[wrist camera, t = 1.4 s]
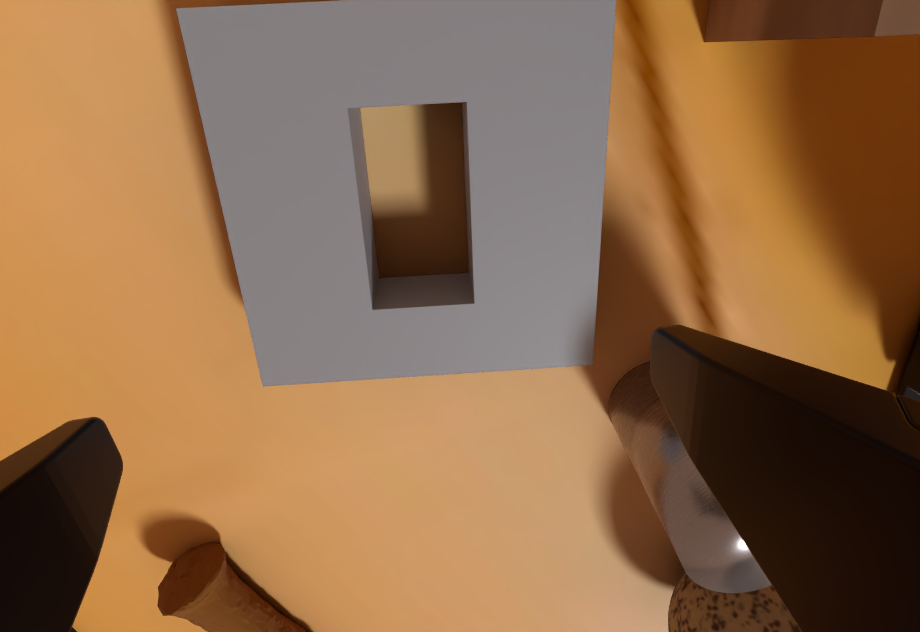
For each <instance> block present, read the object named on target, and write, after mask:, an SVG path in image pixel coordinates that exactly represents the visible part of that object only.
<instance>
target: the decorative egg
mask: <svg viewBox="0 0 920 632" xmlns="http://www.w3.org/2000/svg"><path fill="white" fill-rule="evenodd" d="M668 627H669V632H802V631H801V630H800V628H799V627H798V625H797V623H796V622H795V620H794V619H793V617H792V616H791V614H790V613H789V611H788V610H787V608H786V606H785V605H784V603H783V602H782V600H781V599H780V597H779V596H778V594H777V592H776V591H775V589H774V588H773V586H772V585H771V586H768V587H766V588H762V589H759V590H755V591H750V592H743V593H722V592H716V591H712V590H709V589H706V588H704V587H701V586H700V585H698V584H696V583H695V582H694V581H693V580H691V579H690V578H689V576H688V575H687V574H686V573H685V574H684V575H683V576H682V577H681V579H680V580H679V582H678V583H677V585H676V587H675V589H674V591H673V594H672V597H671V601H670V605H669V612H668Z"/></svg>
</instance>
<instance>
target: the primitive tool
mask: <svg viewBox="0 0 920 632" xmlns="http://www.w3.org/2000/svg"><path fill="white" fill-rule="evenodd" d="M158 591H159V598H158V608H159V609H160V611H161V613H162V614H163V616H168V615H171V616H176V617H179V618H184V619H187V620H189V621H190V622H192V623H193V624H194V625H197V626H201V627H202V628H203V629H204V630H206V631H208V632H307V631H305V629H304V628H302V627H300V626H299V625H297V624H296V623H295V622H294V621H292V620H291V619H289V618H288V617H286V616H284V615H282V614H280V613H279V612H278V611H277V610H276V609H274V608H273V607H272V606H271V605H270V604H268V603H267V602H266V601H264V600H263V599H262V598H261V597H260V596H259V595H257V594H256V593H255V592H254V591H253V590H252V589H251V588H250V587H249V586H248V585H246V584H245V583H244V582H243V581H241V580H240V579H239V578H238V577H237V575H236V573H234V572H233V570H232V569H231V567H230V566H229V565H228V564H227V563H226V553H225V552H224V548H223V547H222V546H221V545H220V544H219V543H207V544H203V545H200V547H197V548H192V549H190V550H188V551H187V552H186V553H185V554H183V555H182V556H180V557H179V558H177V559H176V560H175V561H174V562H173V563H172V565H171V566H170V568H169V570H168V573H167V574H166V575H165V577H164V579H163V580H162V582H161V583H160V585H159V586H158Z"/></svg>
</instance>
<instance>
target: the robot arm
mask: <svg viewBox="0 0 920 632" xmlns="http://www.w3.org/2000/svg"><path fill="white" fill-rule="evenodd" d="M650 375H651V380H652V383H653V385H654V387H655V389H656V391H657V393H658V395H659V397H660V399H661V402H662V404H663V406H664V408H665V410H666V412H667V414H668V416H669V418H670V420H671V422H672V424H673V426H674V428H675V430H676V432H677V434H678V436H679V438H680V440H681V442H682V444H683V446H684V448H685V450H686V452H687V454H688V456H689V457H690V459H691V460H692V462H693V464H694V465H695V467H696V469H697V470H698V472H699V473H700V475H701V476H702V478H703V479H704V481H705V483H706V484H707V486H708V487H709V489H710V490H711V492H712V493H713V495H714V496H715V498H716V500H717V501H718V503H719V504H720V506H721V507H722V509H723V510H724V512H725V514H726V515H727V517H728V518H729V520H730V521H731V523H732V524H733V526H734V527H735V529H736V531H737V532H738V534H739V535H740V537H741V538H742V540H743V541H744V543H745V544H746V546H747V548H748V549H749V551H750V552H751V554H752V555H753V557H754V558H755V560H756V562H757V563H758V565H759V566H760V568H761V569H762V571H763V572H764V574H765V575H766V577H767V579H768V580H769V582H770V583H771V585H772V586H773V588H774V589H775V591H776V592H777V594H778V596H779V597H780V599H781V600H782V602H783V603H784V605H785V606H786V608H787V610H788V611H789V613H790V614H791V616H792V617H793V619H794V620H795V622H796V623H797V625H798V627H799V628H800V630H801V631H802V632H920V325H919V328H918V331H917V334H916V337H915V340H914V343H913V345H912V348H911V351H910V354H909V357H908V360H907V363H906V366H905V369H904V372H903V375H902V378H901V381H900V384H899V387H898V390H897V393H896V396H895V394H894V393H892V392H889V391H886V390H883V389H880V388H876V387H873V386H870V385H867V384H864V383H861V382H858V381H854V380H851V379H848V378H845V377H842V376H839V375H836V374H833V373H829V372H826V371H823V370H820V369H817V368H814V367H811V366H807V365H804V364H801V363H798V362H795V361H792V360H789V359H786V358H782V357H779V356H776V355H773V354H770V353H767V352H764V351H760V350H757V349H754V348H751V347H748V346H745V345H742V344H738V343H735V342H732V341H729V340H726V339H723V338H720V337H717V336H713V335H710V334H707V333H704V332H701V331H698V330H695V329H691V328H688V327H685V326H682V325H672V326H665V327H660V328H657V329H656V330H655V331H654V332H653V336H652V347H651V362H650ZM122 471H123V462H122V458H121V455H120V453H119V451H118V449H117V447H116V445H115V442H114V440H113V438H112V436H111V434H110V432H109V430H108V428H107V426H106V424H105V423H104V421H103V420H101V419H100V418H97V417H90V418H83V419H77V420H72V421H69V422H66V423H65V424H63V425H61V426H60V427H58V428H56V429H54V430H53V431H51V432H49V433H48V434H46V435H44V436H43V437H41V438H39V439H37V440H36V441H34V442H32V443H31V444H29V445H27V446H25V447H24V448H22V449H20V450H19V451H17V452H15V453H13V454H12V455H10V456H8V457H7V458H5V459H3V460H2V461H0V632H70V630H71V628H72V625H73V623H74V620H75V618H76V615H77V613H78V610H79V608H80V605H81V603H82V600H83V598H84V595H85V593H86V590H87V587H88V585H89V582H90V580H91V577H92V575H93V572H94V569H95V567H96V564H97V561H98V558H99V555H100V551H101V548H102V545H103V541H104V538H105V534H106V531H107V527H108V523H109V520H110V516H111V512H112V509H113V505H114V501H115V498H116V494H117V490H118V487H119V483H120V479H121V476H122Z"/></svg>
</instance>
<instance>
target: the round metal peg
mask: <svg viewBox="0 0 920 632" xmlns="http://www.w3.org/2000/svg"><path fill="white" fill-rule="evenodd" d="M650 362H651V361H649V362H646V363H644V364H642V365H639V366H637V367H636V368H634V369H633V370H631V371H630V372H628V373H627V374H626V375H625V376H624V377H623V378H622V379H621V380H620V381H619V382H618V384H617V385H616V387H615V388H614V390H613V392H612V394H611V398H610V401H609V416H610V419H611V422H612V424H613V426H614V428H615V430H616V432H617V434H618V436H619V438H620V440H621V442H622V444H623V446H624V448H625V450H626V452H627V454H628V456H629V458H630V461H631V463H632V465H633V467H634V469H635V471H636V473H637V475H638V477H639V479H640V481H641V483H642V485H643V487H644V489H645V491H646V493H647V495H648V497H649V499H650V501H651V503H652V505H653V507H654V509H655V511H656V513H657V515H658V517H659V520H660V522H661V524H662V526H663V528H664V530H665V532H666V534H667V536H668V538H669V540H670V542H671V544H672V546H673V548H674V550H675V552H676V554H677V556H678V558H679V560H680V562H681V564H682V566H683V568H684V570H685V572H686V574H687V575H688V576H689V578H690V579H691V580H693V581H694V582H695V583H696V584H698V585H700V586H701V587H704V588H706V589H709V590H712V591H716V592H722V593H743V592H750V591H755V590H759V589H762V588H766V587H768V586H771V583H770V582H769V580H768V579H767V577H766V575H765V574H764V572H763V571H762V569H761V568H760V566H759V565H758V563H757V562H756V560H755V558H754V557H753V555H752V554H751V552H750V551H749V549H748V548H747V546H746V544H745V543H744V541H743V540H742V538H741V537H740V535H739V534H738V532H737V531H736V529H735V527H734V526H733V524H732V523H731V521H730V520H729V518H728V517H727V515H726V514H725V512H724V510H723V509H722V507H721V506H720V504H719V503H718V501H717V500H716V498H715V496H714V495H713V493H712V492H711V490H710V489H709V487H708V486H707V484H706V483H705V481H704V479H703V478H702V476H701V475H700V473H699V472H698V470H697V469H696V467H695V465H694V464H693V462H692V460H691V459H690V457H689V456H688V454H687V452H686V450H685V448H684V446H683V444H682V442H681V440H680V438H679V436H678V434H677V432H676V430H675V428H674V426H673V424H672V422H671V420H670V418H669V416H668V414H667V412H666V410H665V408H664V406H663V404H662V402H661V399H660V397H659V395H658V393H657V391H656V389H655V387H654V385H653V383H652V380H651V375H650Z"/></svg>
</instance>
